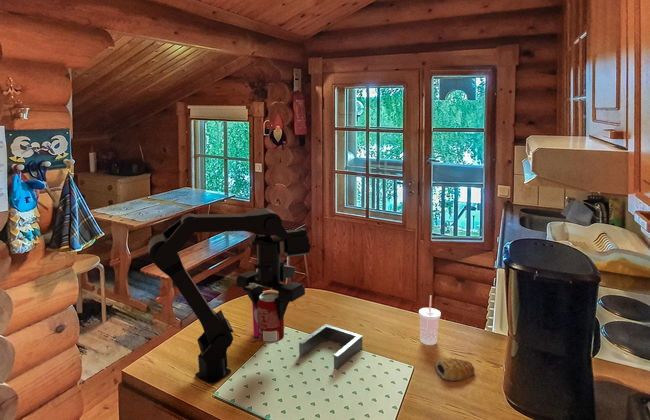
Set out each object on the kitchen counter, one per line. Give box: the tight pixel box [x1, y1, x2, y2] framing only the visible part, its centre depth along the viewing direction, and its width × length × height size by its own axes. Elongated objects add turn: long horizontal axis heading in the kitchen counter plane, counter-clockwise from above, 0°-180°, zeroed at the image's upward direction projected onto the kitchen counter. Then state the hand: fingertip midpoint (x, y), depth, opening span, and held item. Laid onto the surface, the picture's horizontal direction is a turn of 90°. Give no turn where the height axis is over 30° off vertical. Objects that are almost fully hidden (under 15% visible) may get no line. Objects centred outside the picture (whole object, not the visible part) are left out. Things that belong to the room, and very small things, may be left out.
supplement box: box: [251, 301, 259, 339], centre depth 130 cm, size 6×6×12 cm
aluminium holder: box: [298, 323, 363, 371], centre depth 121 cm, size 13×12×4 cm
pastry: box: [435, 357, 475, 382], centre depth 111 cm, size 9×7×4 cm
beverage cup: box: [418, 295, 442, 346], centre depth 125 cm, size 6×6×14 cm
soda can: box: [257, 291, 285, 344], centre depth 114 cm, size 7×7×12 cm
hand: (270, 316), depth 114 cm, fingers closed on soda can, 7 cm apart
